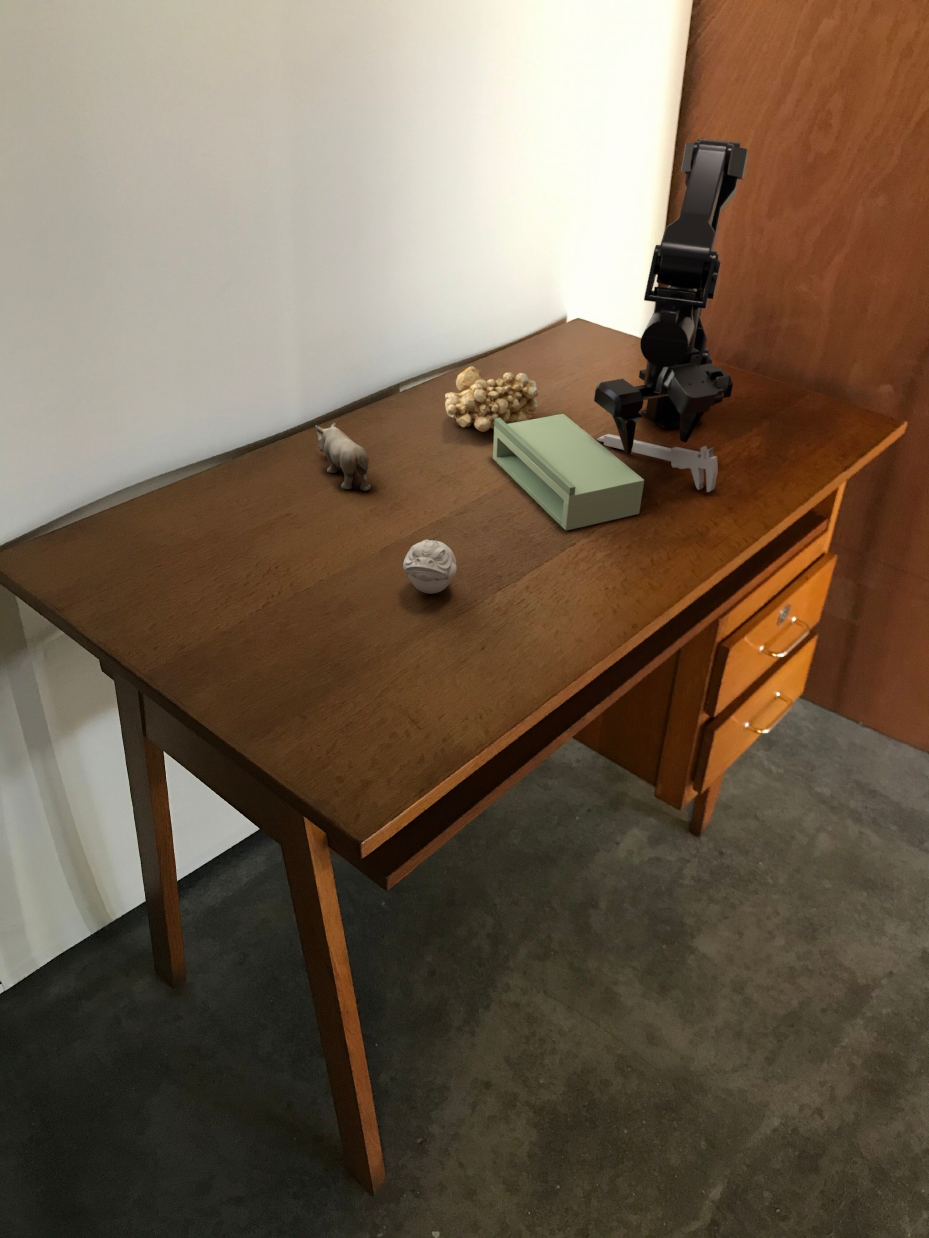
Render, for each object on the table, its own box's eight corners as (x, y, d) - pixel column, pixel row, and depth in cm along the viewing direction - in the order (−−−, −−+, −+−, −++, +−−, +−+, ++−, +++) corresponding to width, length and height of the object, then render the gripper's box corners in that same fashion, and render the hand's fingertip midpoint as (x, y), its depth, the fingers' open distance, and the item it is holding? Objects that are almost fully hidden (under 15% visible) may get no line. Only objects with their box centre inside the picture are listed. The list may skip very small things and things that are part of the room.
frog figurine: (396, 604, 113) (395, 552, 109) (412, 570, 118) (411, 520, 114) (449, 612, 112) (450, 560, 108) (462, 577, 118) (463, 527, 113)
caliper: (714, 492, 136) (722, 450, 132) (709, 495, 135) (717, 453, 131) (601, 439, 147) (605, 399, 144) (596, 441, 147) (600, 401, 143)
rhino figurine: (333, 447, 143) (331, 408, 140) (376, 489, 134) (375, 449, 130) (307, 453, 141) (304, 414, 138) (348, 496, 132) (346, 455, 128)
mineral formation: (545, 419, 152) (491, 450, 141) (472, 411, 159) (416, 439, 148) (543, 367, 148) (488, 394, 138) (469, 360, 155) (410, 385, 145)
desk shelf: (560, 445, 146) (564, 405, 142) (639, 514, 130) (645, 471, 127) (492, 458, 142) (494, 418, 138) (565, 531, 127) (570, 487, 123)
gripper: (645, 372, 121) (629, 486, 130) (769, 350, 128) (745, 460, 137) (598, 339, 129) (586, 449, 138) (717, 321, 136) (698, 427, 145)
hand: (655, 447), depth 140 cm, fingers open, 9 cm apart
